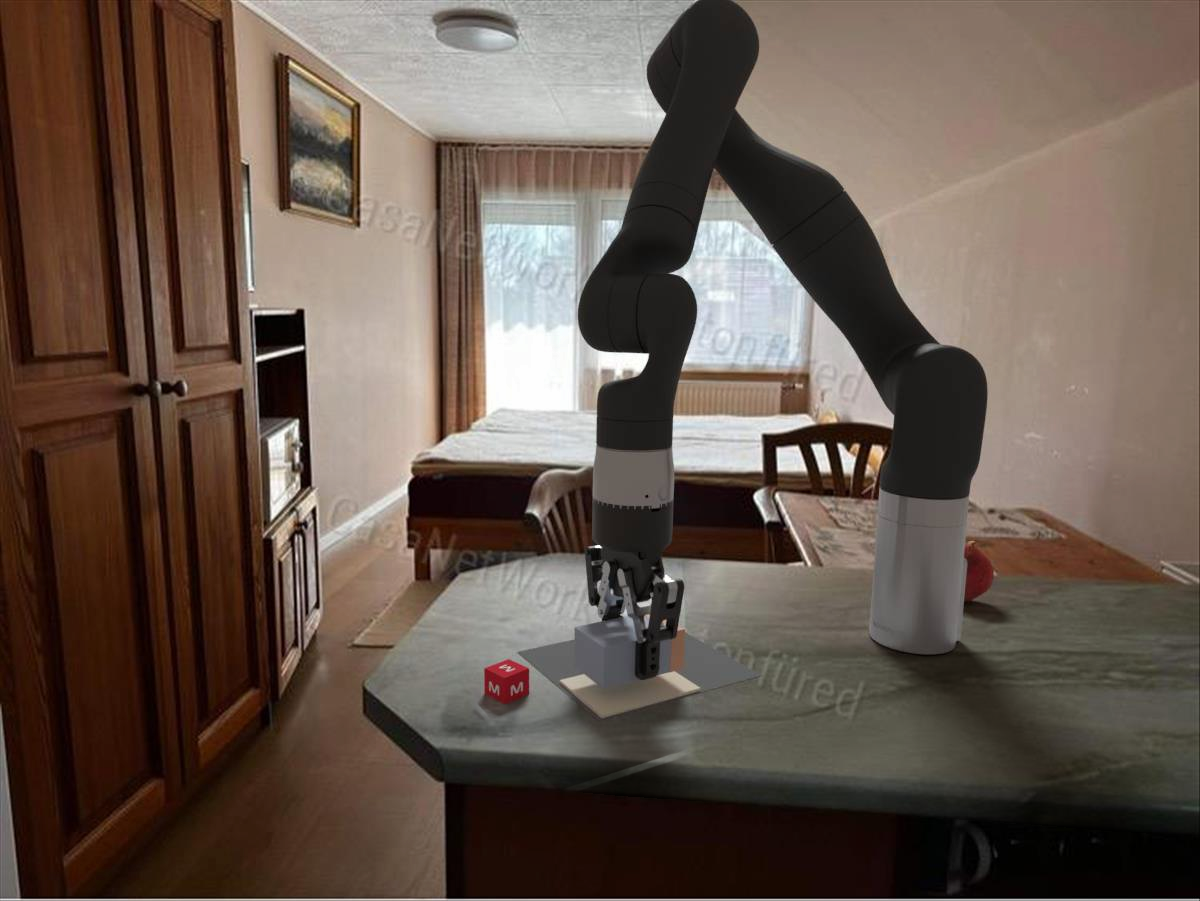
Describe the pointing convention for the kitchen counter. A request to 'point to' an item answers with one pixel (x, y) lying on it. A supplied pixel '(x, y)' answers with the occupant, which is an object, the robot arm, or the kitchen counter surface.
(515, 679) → the red letter m cube
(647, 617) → the card box
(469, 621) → the kitchen counter surface
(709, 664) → the mat
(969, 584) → the onion
